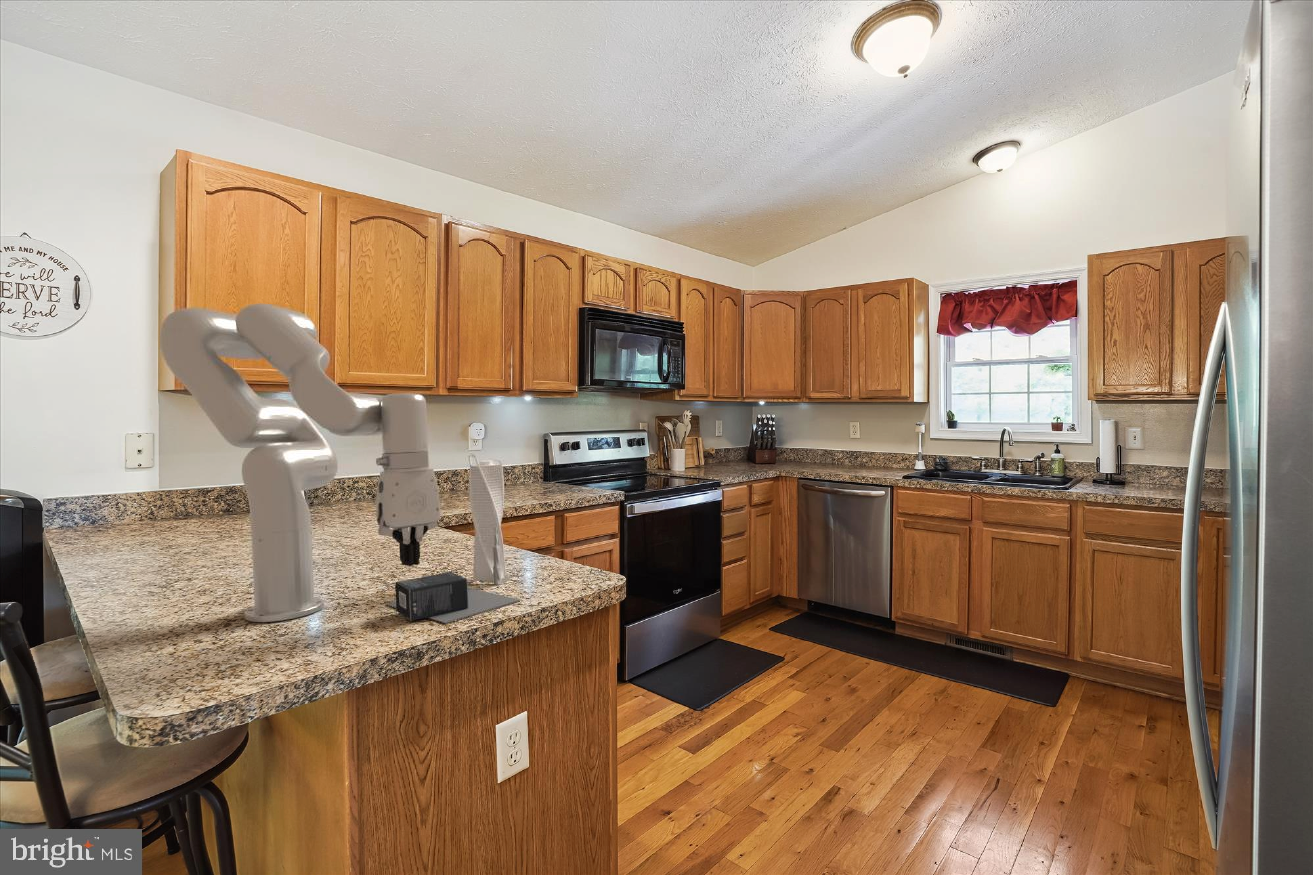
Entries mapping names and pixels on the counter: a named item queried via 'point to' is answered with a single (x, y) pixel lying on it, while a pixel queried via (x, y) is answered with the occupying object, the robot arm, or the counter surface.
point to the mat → (474, 605)
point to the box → (431, 595)
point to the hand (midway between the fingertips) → (410, 564)
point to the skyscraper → (487, 520)
